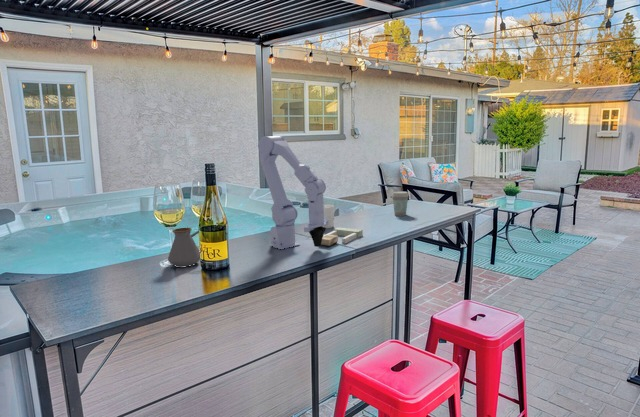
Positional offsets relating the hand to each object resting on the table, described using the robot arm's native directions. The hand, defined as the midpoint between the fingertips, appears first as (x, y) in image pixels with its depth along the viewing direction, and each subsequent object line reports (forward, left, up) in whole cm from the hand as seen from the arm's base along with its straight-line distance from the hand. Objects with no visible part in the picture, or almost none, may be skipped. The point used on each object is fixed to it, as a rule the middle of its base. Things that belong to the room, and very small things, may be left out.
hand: (317, 246), depth 165 cm
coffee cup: (+71, +21, -2) cm, 74 cm away
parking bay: (+18, +7, -1) cm, 19 cm away
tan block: (+8, +3, -1) cm, 8 cm away
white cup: (+27, +28, -2) cm, 38 cm away
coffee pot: (-40, +19, -2) cm, 45 cm away
